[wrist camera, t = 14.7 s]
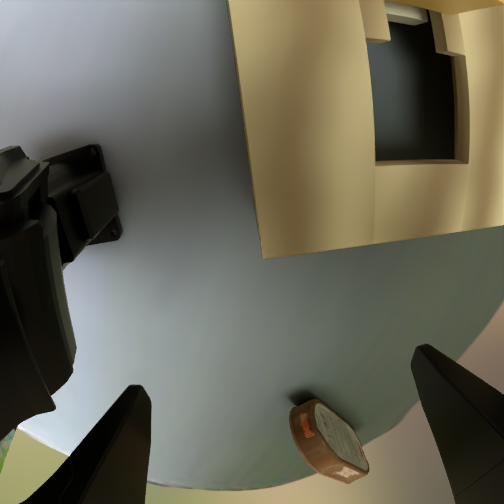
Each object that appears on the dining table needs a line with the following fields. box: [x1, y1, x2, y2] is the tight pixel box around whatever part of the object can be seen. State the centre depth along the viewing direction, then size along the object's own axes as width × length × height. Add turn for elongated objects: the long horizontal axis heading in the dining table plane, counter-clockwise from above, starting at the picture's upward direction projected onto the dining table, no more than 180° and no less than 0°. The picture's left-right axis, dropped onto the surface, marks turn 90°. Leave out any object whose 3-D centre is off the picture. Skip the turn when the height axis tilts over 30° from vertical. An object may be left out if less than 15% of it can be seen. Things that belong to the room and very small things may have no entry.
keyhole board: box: [226, 0, 504, 259], centre depth 11 cm, size 16×22×6 cm
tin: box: [289, 399, 369, 484], centre depth 27 cm, size 15×3×8 cm, turn 36°
